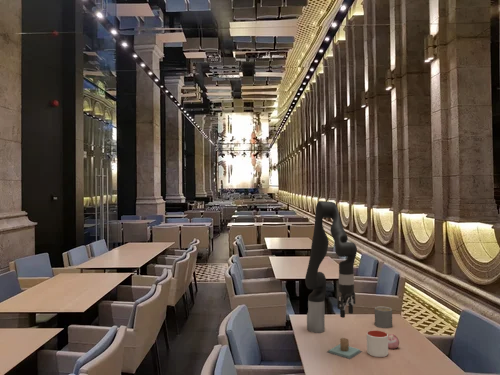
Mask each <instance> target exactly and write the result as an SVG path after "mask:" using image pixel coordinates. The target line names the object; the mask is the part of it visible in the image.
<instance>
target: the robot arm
mask: <svg viewBox="0 0 500 375" xmlns="http://www.w3.org/2000/svg"><path fill="white" fill-rule="evenodd" d="M314 214H315V215H314V228H313V235H312V240H311V246H310V255H309V260H308V266H307V269H306V273H305V278H304V282H305V287H306V288H307V289H308V290H312V292H311V293H309V294H308V296H307V300H308V301H307V308H308V310H307V313H306V330H308V331H309V332H310V333H316V334H319V333H320V334H321V333H323V332H325V324H326V323H325V320H326V318H325V317H326V316H325V314H326V313H325V298H326V295H327V294H326V293H327V292H326V291H327V279H326V278H327V277H326V276H325V274H324V273H323V272H322V271H319V268H320V266H321V264H322V262H323V261H324V259H325V258H326V256H327V255H328V254H327V253H328V250H329V237H328V234H327V233H326V231H325V229H324V226H323V225H324V224H323V222H324V221H323V220H324V219H331V220H332V223H331V226H330V235H331V238H332V239H333V241H334V242H333V243H334V248H335V249H334V251H335V252H334V253H335V255H337V257H340V258H343V257H344V258H345V257H346V259H345V260H342V261H340V262H338V292H339V293H340V296H337V305H336V306H337V307H336V308H337V310H339V313H340V314H339V317H340V318H341V319H343V318H344V319H345V318H346V307H347V306H348V307H347V308H348V314H354V306H355V305H356V292H355V275H354V274H355V273H354V265H355V260H356V257H357V252H358V247H357V245H356V244H355V242H352V241H349V242H347V241H348V240H349V238H348V234H347V233H346V231H345V228H344V227H343V224H342V220H341V216H340V213H339V209H338V206H337V204H336V202H334V201H326V200H325V201H323V200H320V201H318V202H316V206H315V213H314Z"/></svg>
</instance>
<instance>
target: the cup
mask: <svg viewBox="0 0 500 375" xmlns="http://www.w3.org/2000/svg"><path fill="white" fill-rule="evenodd" d="M366 352H367V354H368V355H369V356H372V357H374V358H384V357H387V356H388V355H389V348H388V333H387V332H385V331H382V330H368V331H367V332H366Z"/></svg>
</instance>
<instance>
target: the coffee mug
mask: <svg viewBox="0 0 500 375" xmlns="http://www.w3.org/2000/svg"><path fill="white" fill-rule="evenodd" d="M374 326H375V327H377V328H380V329H391V328H393V309H392V308H391V307H390V306H389V307H388V306H383V305H382V306H376V307H374Z"/></svg>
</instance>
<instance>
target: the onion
mask: <svg viewBox="0 0 500 375" xmlns="http://www.w3.org/2000/svg"><path fill="white" fill-rule="evenodd" d="M387 334H388V333H387ZM399 346H400V340H399V338H398V336H396V334H393V333H389V334H388V350H394V349H395V350H396V349H397V348H398V347H399Z"/></svg>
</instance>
